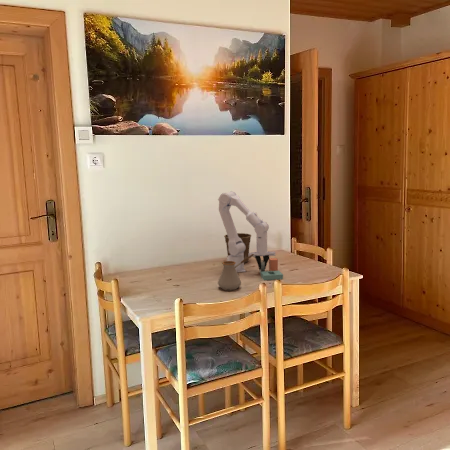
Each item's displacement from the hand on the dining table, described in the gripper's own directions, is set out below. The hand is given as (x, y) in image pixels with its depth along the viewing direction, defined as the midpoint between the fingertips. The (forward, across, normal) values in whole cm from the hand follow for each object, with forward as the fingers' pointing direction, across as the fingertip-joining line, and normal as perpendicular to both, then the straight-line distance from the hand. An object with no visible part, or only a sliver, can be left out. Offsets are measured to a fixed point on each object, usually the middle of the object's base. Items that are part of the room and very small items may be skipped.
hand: (262, 269), depth 251 cm
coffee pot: (+3, -17, -20) cm, 26 cm away
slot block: (+2, +3, -9) cm, 10 cm away
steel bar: (+2, 0, 0) cm, 2 cm away
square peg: (+2, +7, +3) cm, 8 cm away
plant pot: (+3, -8, +29) cm, 30 cm away
